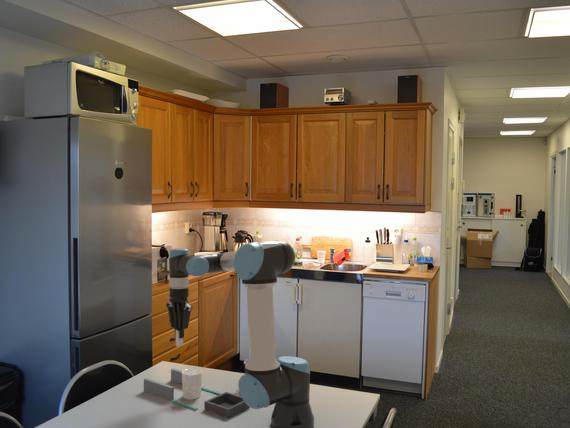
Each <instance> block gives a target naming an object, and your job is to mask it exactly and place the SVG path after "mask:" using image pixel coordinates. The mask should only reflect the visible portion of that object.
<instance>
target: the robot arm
mask: <svg viewBox="0 0 570 428" xmlns="http://www.w3.org/2000/svg"><path fill="white" fill-rule="evenodd" d="M168 254H169V255H168V256H169V258H168V264H169V265H168V266H169V268H168V270H169V272H168V273H169V275H168V276H169V283H168V287H170V288H169V298H170V301H169V302H167V303H166V304H165V306H166V308H167V312H168V318H169V322H170V327H171V328H173V330H174V337H175V347H183V346H184V338H185V330H186V329H188V328H189V324H190V319H191V312H192V311H193V305H190V304H189V301H188V297H189V296H190V295H189V293H190V291H189V283H190V281H189V276H193V277H203V276H205V275H207V274H214V273H223V272H235V273H236V276H237V278H239V279H241V284H242V285H243V287H244V288H245V289H246V300H247V303H246V305H247V306H246V307H247V326H248V327H247V329H248V352H249V355H248V356H249V357H248V359H250V360H249V362H248V363H247V364H246V365H245V369H244V374H243V375H241V376H240V378H239V379H238V391H239V392H238V393H239V396H241V397H242V399H243V400H244V402H245V403H246V404H247V405H248V406H249V408H250V409H254V410H259V409H263V408H268V407H269V406H271V405H274V404H275V405H274V408H273V410H272V414H271V416H270V425H271V427H272V428H314V426H315V416H314V414H313V411H312V407H311V404H310V389H311V388H310V384H311V383H310V382H311V369H310V363H309V361H308V360H307V359H304V358H301V357H297V356H289V355H288V356H287V355H286V356H285V355H283V356H279V357H277V358H276V345H275V344H276V343H275V342H276V341H275V339H276V338H275V316H274V315H275V313H274V310H275V309H274V291H273V288H274V287H275V285H276V284H277V283H278V277H277V276H278V275H283V274H285V273H287V272H289V271H290V270H291V269H292V268H293V266H294V264H295V263H296V253H295V250H294V248H293V247H292V245H291V244H289V243H288V242H286V241H283V240H267V241H254V242H249V243H248V242H247V243H245V244H242V245H241V246H240V247H239V248H238V250H236V251H226V252H225V251H224V252H218V253H217V252H216V253H208V254H199V255H197V254H196V255H192V254H191V255H190V254H189V250H188V249H187V248H183V247H181V248H179V247H178V248H171V249H170V250H169V253H168Z"/></svg>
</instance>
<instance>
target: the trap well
mask: <svg viewBox="0 0 570 428" xmlns="http://www.w3.org/2000/svg"><path fill="white" fill-rule="evenodd" d="M221 393H222V392H221ZM203 403H204V404H203V405H204V407H203V408H204V410H205V411H207V412H211V413H213V414H216V415H219V416H222V417H224V418H228V419H230V418H231V417H233V416H235V415H237V414H239V413H241V412H243V411H244V410H247V409H249V408H250V407H249V406H248V405H247V404H246V403H245V402H244V400H243V399H242V397H241V395H239V394H235V393H231V392H228V391H225V392H223V393H222V394H220V395H218V394H217V395H215V396H213V397H211V398H210V399H207V400H205V401H204V402H203Z"/></svg>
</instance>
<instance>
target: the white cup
mask: <svg viewBox="0 0 570 428" xmlns="http://www.w3.org/2000/svg"><path fill="white" fill-rule="evenodd" d="M181 371H182V384H181V385H182V397H183V398H184V399H185V400H198V399H199V398H200V397H201V391H202V389H201V388H202V383H203V381H202V380H203V377H202V376H203V370H202V369H200V368H196V367H195V368H194V367H193V368H192V367H191V368H186V369H183V370H181Z"/></svg>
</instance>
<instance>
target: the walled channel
mask: <svg viewBox="0 0 570 428" xmlns="http://www.w3.org/2000/svg"><path fill="white" fill-rule="evenodd" d="M182 371H183V370H180V369H177V368H175V367H174V368H171V369H170V382H173V383H175V384H176V383H177V384H179V385H182ZM143 392H144V393H148V394H151V395H152V396H153V395H154V396H157V397H159V398H162V399H165V400H168V401H171V402H172V400H175V399H174V398H175V396H174V394H175V387H174V386H172V385H169V384H167V383H163V382H162V381H161V382H160V381H157V380H155V379H151V378H149V377H145V378H143Z"/></svg>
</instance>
